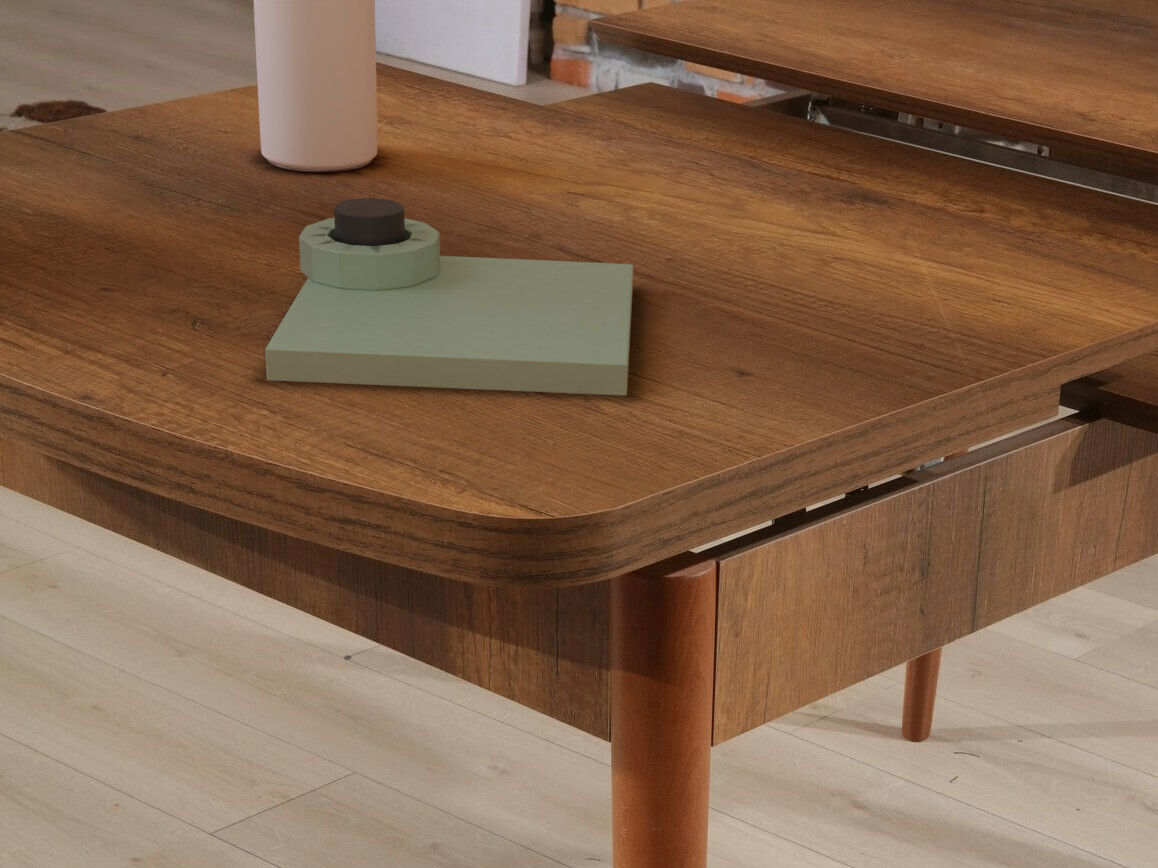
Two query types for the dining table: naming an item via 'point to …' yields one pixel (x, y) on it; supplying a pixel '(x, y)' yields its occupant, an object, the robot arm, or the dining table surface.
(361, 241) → the button
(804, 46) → the dining table surface
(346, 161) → the can
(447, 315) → the scale
